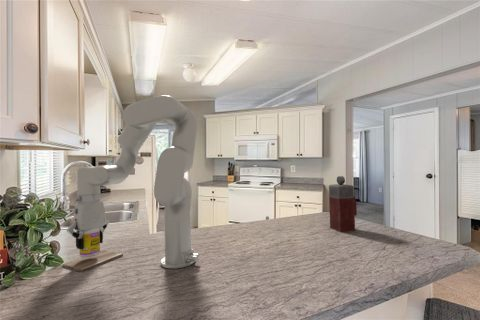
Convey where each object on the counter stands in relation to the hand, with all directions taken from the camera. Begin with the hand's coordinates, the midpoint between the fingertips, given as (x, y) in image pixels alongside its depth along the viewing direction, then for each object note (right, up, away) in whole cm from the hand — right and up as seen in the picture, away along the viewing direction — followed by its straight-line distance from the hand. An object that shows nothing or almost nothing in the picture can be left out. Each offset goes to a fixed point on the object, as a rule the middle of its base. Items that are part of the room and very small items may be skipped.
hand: (90, 245), depth 93 cm
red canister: (+113, -4, +36) cm, 118 cm away
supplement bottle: (0, -4, 0) cm, 4 cm away
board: (+1, -6, 0) cm, 6 cm away
